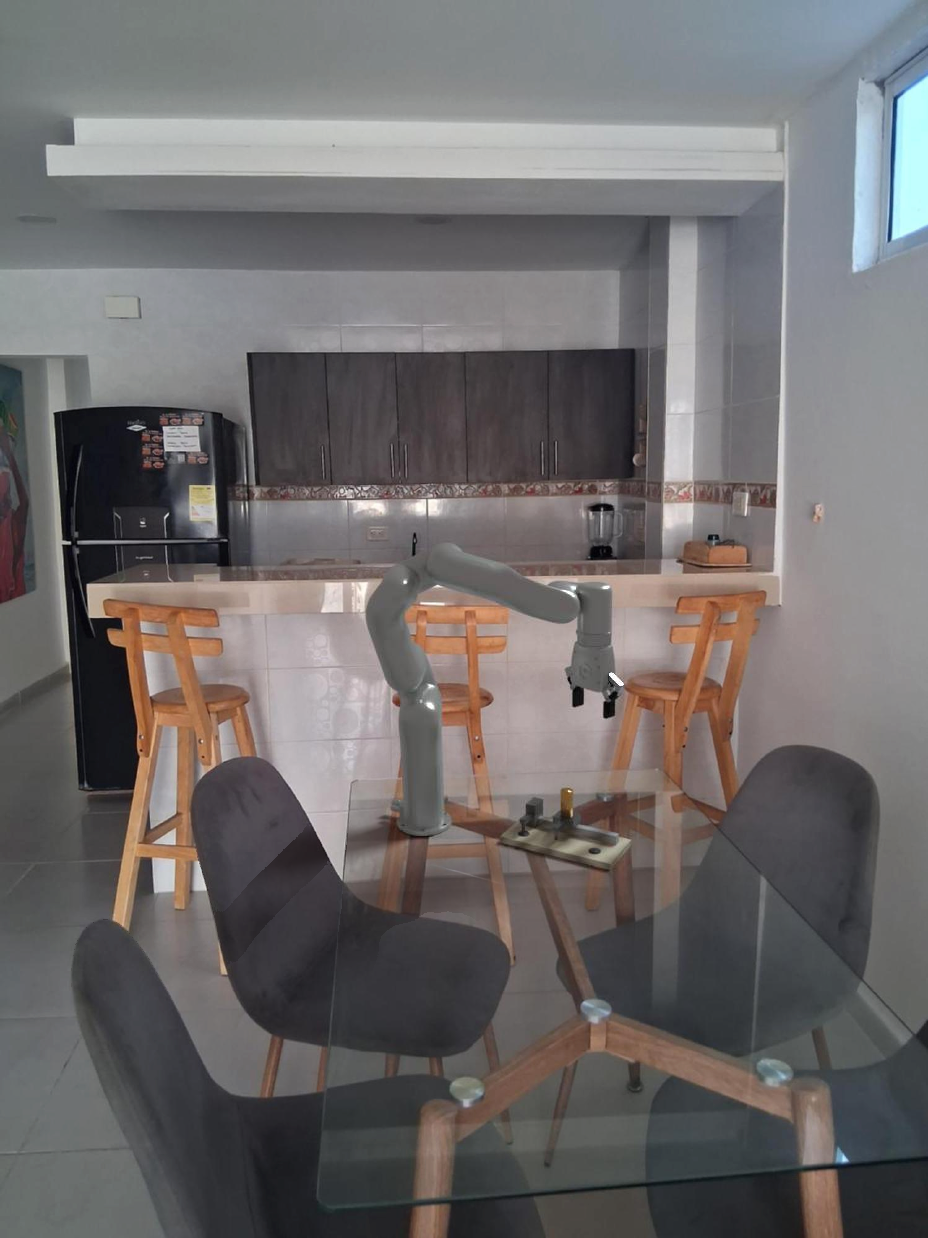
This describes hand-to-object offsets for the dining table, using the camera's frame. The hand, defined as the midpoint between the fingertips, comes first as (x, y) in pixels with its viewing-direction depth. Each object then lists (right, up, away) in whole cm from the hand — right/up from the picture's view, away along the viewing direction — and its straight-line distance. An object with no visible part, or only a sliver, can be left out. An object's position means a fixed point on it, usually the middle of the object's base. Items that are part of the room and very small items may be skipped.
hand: (593, 711), depth 214 cm
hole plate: (-7, -29, -5) cm, 30 cm away
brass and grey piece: (-7, -26, -4) cm, 28 cm away
